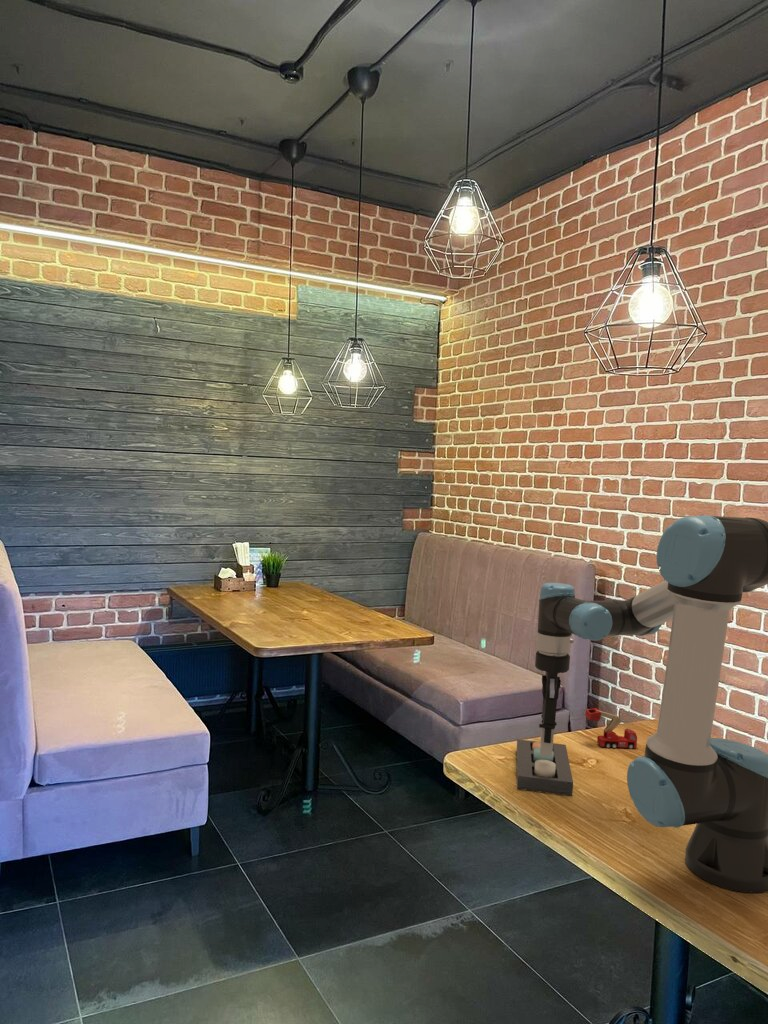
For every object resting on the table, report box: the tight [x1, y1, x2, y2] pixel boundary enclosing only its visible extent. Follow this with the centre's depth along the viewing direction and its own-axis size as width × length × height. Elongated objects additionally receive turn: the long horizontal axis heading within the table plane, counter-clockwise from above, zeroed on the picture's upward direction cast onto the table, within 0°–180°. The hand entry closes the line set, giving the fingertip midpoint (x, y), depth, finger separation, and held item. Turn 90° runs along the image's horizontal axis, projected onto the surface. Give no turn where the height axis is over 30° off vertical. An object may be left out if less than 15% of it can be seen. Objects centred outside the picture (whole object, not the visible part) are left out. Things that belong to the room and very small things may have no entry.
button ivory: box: [534, 760, 556, 778], centre depth 171 cm, size 5×5×3 cm
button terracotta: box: [532, 741, 540, 751], centre depth 187 cm, size 5×5×3 cm
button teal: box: [533, 748, 554, 763], centre depth 179 cm, size 5×5×3 cm
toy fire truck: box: [585, 707, 638, 750], centre depth 199 cm, size 3×14×10 cm, turn 94°
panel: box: [515, 738, 574, 797], centre depth 179 cm, size 24×12×3 cm, turn 170°
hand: (545, 754), depth 171 cm, fingers closed
